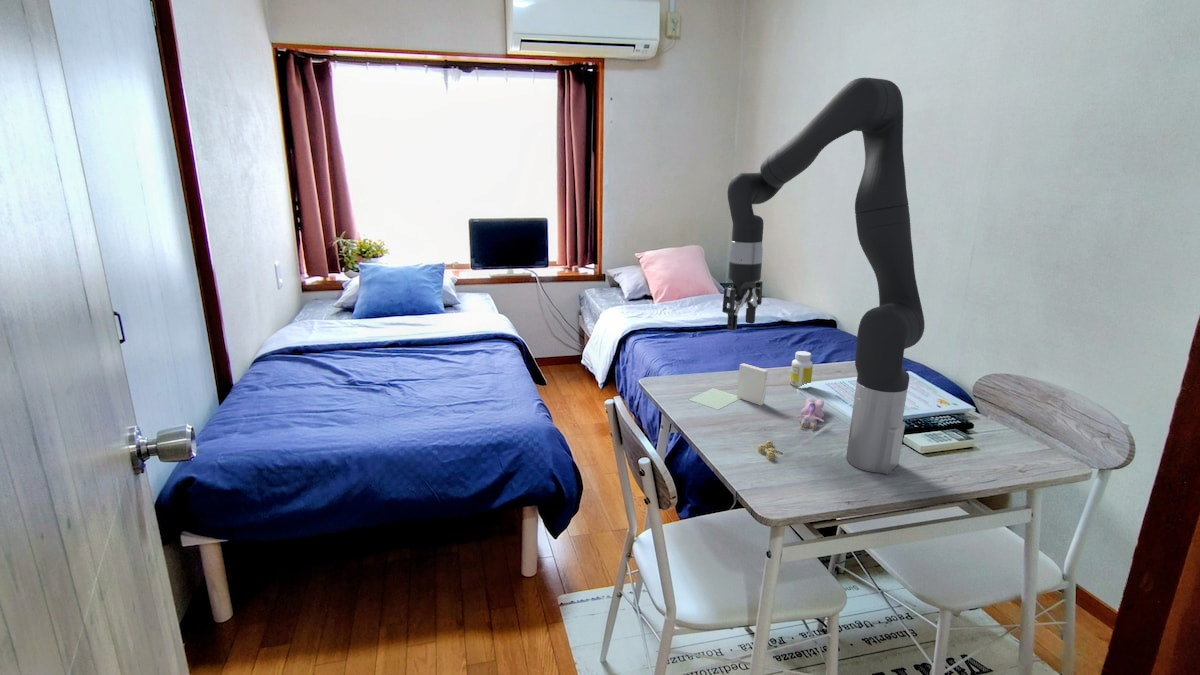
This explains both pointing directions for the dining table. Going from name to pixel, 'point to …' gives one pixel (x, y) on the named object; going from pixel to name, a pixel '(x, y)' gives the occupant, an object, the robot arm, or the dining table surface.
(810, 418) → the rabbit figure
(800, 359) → the supplement bottle
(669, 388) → the dining table surface
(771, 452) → the yellow speckled pebbles
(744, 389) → the tile
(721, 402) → the mat
